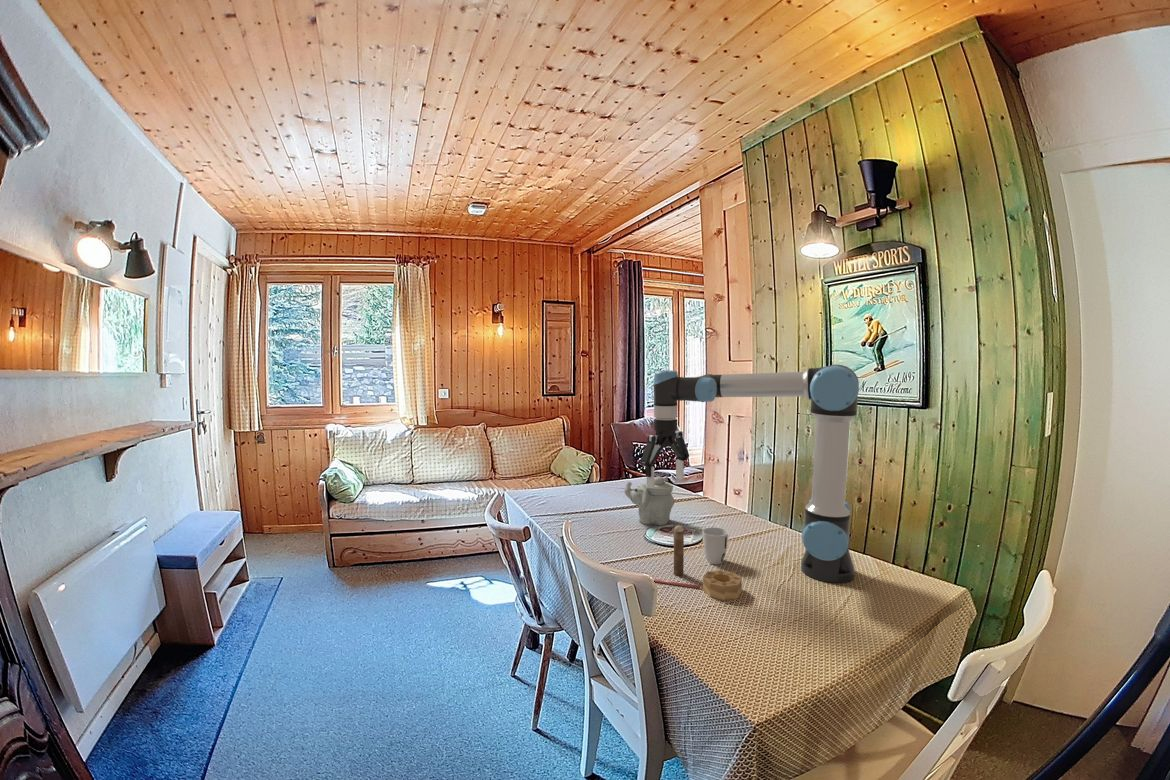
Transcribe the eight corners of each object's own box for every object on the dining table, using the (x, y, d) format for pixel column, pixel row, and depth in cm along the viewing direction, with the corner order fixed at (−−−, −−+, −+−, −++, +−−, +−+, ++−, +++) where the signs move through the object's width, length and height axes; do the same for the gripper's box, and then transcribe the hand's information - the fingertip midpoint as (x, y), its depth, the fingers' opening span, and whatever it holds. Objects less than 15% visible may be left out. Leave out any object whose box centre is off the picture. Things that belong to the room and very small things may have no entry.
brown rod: (684, 573, 166) (685, 524, 164) (681, 576, 163) (681, 527, 162) (675, 571, 167) (675, 523, 166) (672, 574, 165) (672, 526, 163)
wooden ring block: (743, 588, 155) (744, 574, 155) (735, 602, 147) (735, 588, 146) (710, 580, 160) (710, 568, 160) (699, 594, 152) (699, 581, 151)
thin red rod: (700, 587, 156) (700, 585, 156) (700, 589, 155) (700, 586, 155) (652, 580, 161) (652, 578, 160) (651, 582, 160) (651, 579, 160)
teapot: (623, 519, 216) (622, 474, 215) (649, 512, 226) (649, 468, 224) (651, 530, 203) (651, 482, 202) (678, 522, 212) (678, 476, 211)
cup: (728, 567, 170) (728, 536, 169) (702, 565, 171) (702, 535, 171) (726, 557, 178) (727, 528, 177) (702, 555, 179) (702, 526, 178)
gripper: (683, 413, 182) (682, 474, 184) (628, 420, 167) (629, 487, 169) (700, 415, 176) (699, 478, 178) (645, 423, 161) (645, 492, 163)
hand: (665, 483), depth 173 cm, fingers open, 13 cm apart
